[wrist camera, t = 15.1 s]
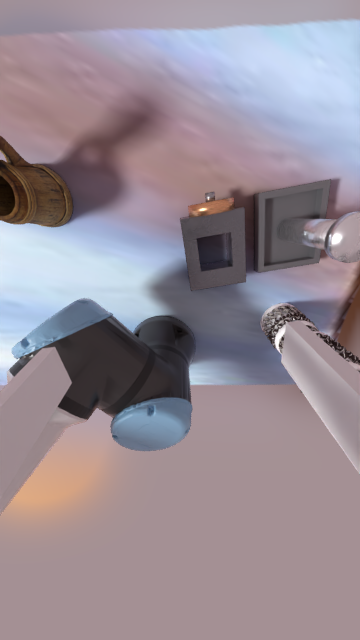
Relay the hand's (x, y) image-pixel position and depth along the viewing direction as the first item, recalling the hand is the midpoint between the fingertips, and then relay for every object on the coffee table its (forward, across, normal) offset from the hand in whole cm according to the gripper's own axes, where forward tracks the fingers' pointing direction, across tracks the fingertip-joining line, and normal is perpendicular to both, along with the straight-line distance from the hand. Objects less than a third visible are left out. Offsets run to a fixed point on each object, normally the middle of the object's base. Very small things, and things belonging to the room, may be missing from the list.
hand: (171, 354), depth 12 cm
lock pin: (+30, -20, -2) cm, 37 cm away
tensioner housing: (+31, -7, -2) cm, 32 cm away
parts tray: (+31, -20, -2) cm, 37 cm away
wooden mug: (+32, +20, -14) cm, 40 cm away
